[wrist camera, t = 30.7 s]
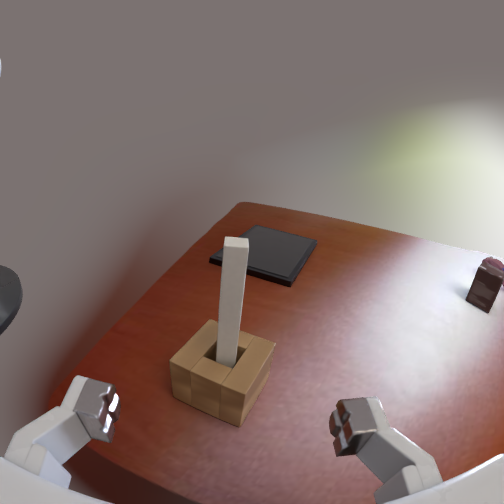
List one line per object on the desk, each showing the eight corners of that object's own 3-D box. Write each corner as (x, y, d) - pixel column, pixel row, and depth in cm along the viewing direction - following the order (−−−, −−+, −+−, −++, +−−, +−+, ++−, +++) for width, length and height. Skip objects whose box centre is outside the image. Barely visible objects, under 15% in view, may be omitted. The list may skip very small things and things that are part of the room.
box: (492, 304, 44) (506, 273, 41) (488, 314, 41) (503, 280, 38) (470, 291, 49) (483, 260, 46) (464, 300, 45) (478, 266, 42)
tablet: (290, 287, 45) (291, 281, 44) (209, 262, 49) (209, 256, 49) (316, 244, 62) (317, 239, 61) (255, 228, 66) (255, 224, 66)
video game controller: (478, 277, 60) (480, 255, 57) (488, 270, 59) (490, 248, 56) (501, 297, 51) (505, 274, 48) (511, 289, 50) (515, 266, 47)
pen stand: (173, 396, 24) (168, 360, 22) (208, 355, 30) (209, 318, 28) (239, 428, 22) (245, 394, 20) (267, 378, 28) (276, 342, 26)
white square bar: (214, 395, 25) (223, 245, 19) (215, 382, 26) (225, 236, 20) (231, 396, 25) (248, 247, 19) (232, 383, 26) (248, 238, 20)
